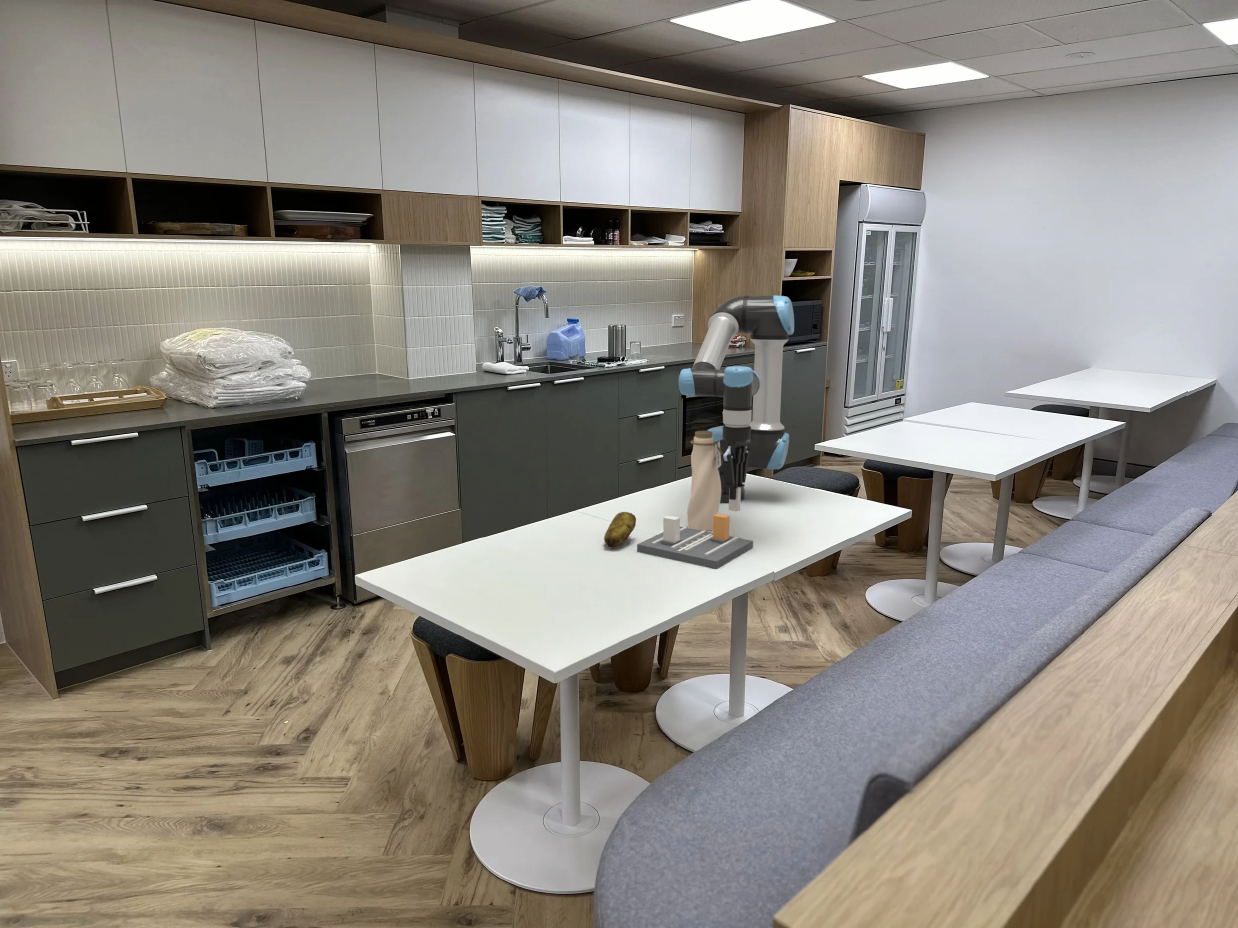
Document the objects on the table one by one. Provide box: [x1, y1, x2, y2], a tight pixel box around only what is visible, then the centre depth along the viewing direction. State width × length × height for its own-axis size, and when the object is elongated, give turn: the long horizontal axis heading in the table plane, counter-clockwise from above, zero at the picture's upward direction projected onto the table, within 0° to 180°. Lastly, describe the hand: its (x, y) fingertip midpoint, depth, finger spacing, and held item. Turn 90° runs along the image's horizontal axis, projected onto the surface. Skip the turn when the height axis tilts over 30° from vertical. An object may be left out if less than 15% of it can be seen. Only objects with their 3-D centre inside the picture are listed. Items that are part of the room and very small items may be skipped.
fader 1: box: [661, 515, 682, 546], centre depth 228 cm, size 4×4×7 cm
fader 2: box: [711, 513, 731, 544], centre depth 230 cm, size 4×4×7 cm
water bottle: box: [686, 430, 723, 532], centre depth 247 cm, size 10×9×28 cm
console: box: [636, 526, 754, 570], centre depth 230 cm, size 20×24×3 cm
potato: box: [603, 511, 637, 549], centre depth 235 cm, size 8×13×8 cm, turn 138°
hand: (734, 510), depth 235 cm, fingers closed
